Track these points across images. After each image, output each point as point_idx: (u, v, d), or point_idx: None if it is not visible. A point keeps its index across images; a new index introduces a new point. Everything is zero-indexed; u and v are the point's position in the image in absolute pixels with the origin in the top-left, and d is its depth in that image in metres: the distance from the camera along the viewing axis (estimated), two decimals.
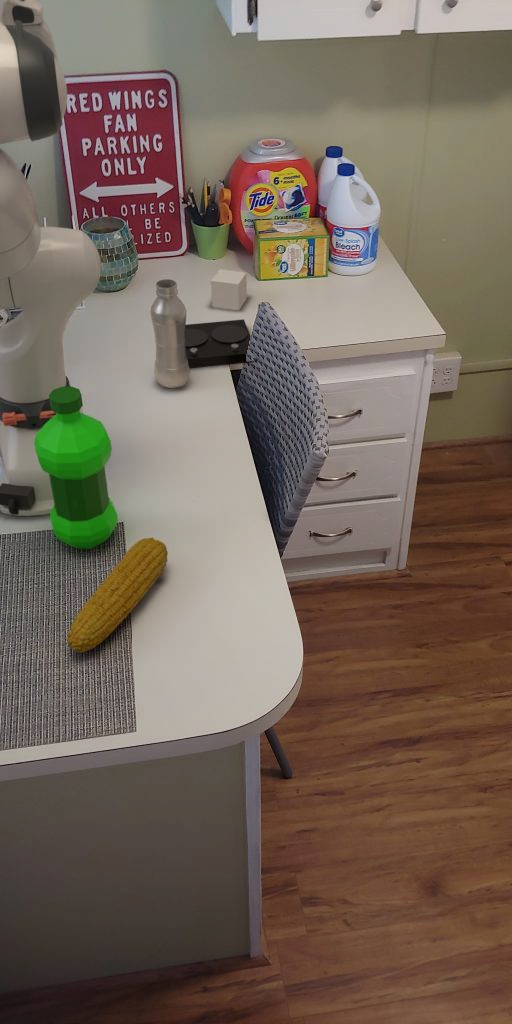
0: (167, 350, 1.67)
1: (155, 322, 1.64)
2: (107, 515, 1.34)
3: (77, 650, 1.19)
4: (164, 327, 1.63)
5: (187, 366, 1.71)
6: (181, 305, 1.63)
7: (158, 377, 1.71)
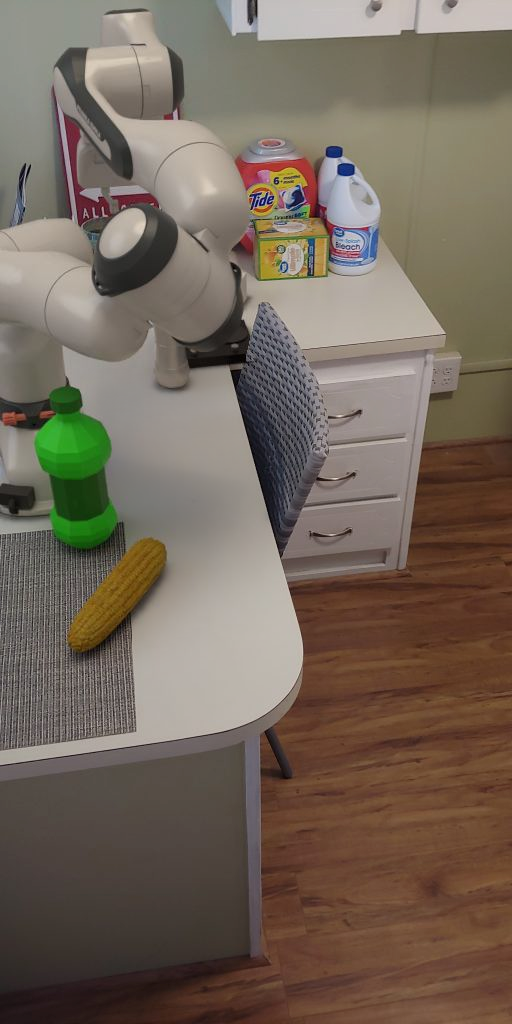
0: (167, 350, 1.67)
1: None
2: (107, 515, 1.34)
3: (77, 650, 1.19)
4: None
5: (187, 366, 1.71)
6: None
7: (158, 377, 1.71)
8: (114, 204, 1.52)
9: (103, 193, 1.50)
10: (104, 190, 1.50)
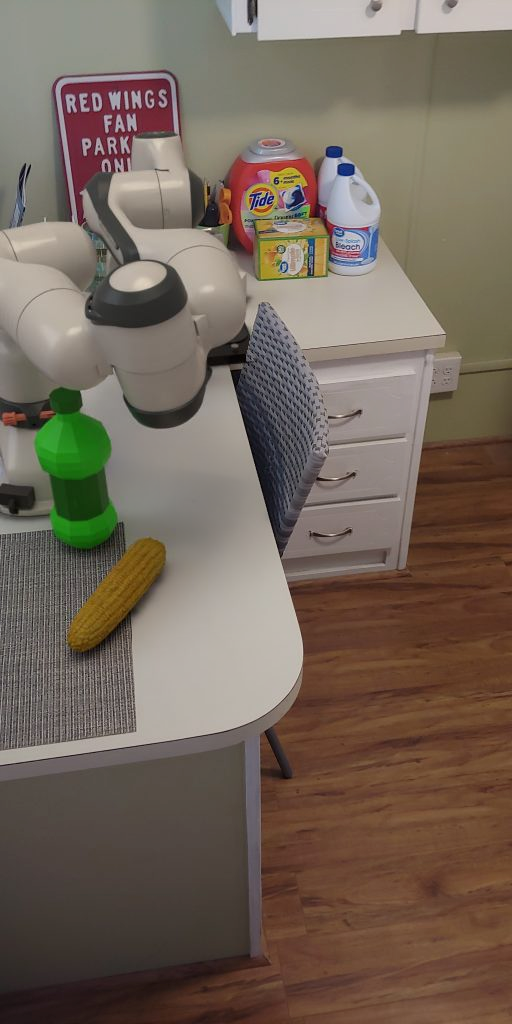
0: None
1: None
2: (107, 515, 1.34)
3: (76, 650, 1.19)
4: None
5: None
6: None
7: None
8: None
9: None
10: None
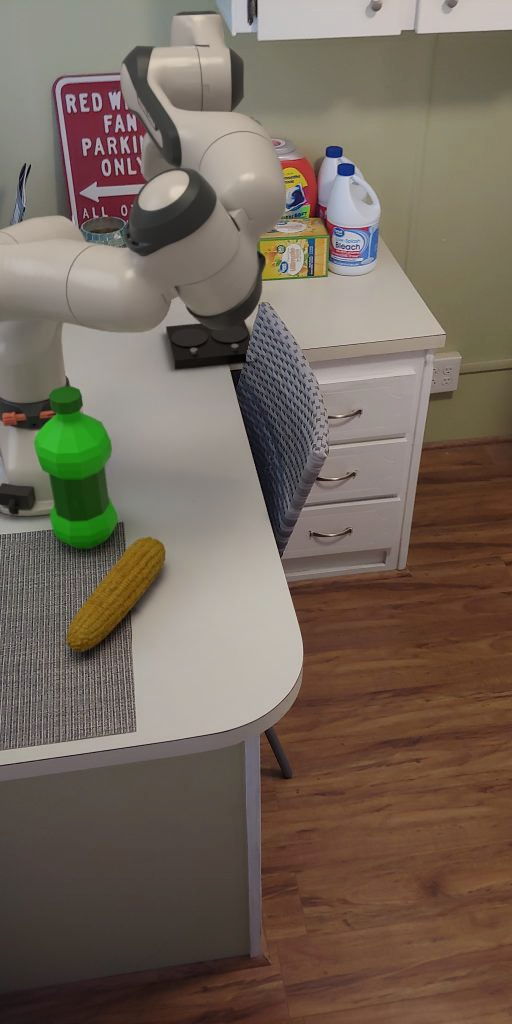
0: None
1: None
2: (107, 515, 1.34)
3: (76, 650, 1.19)
4: None
5: None
6: None
7: None
8: None
9: None
10: None
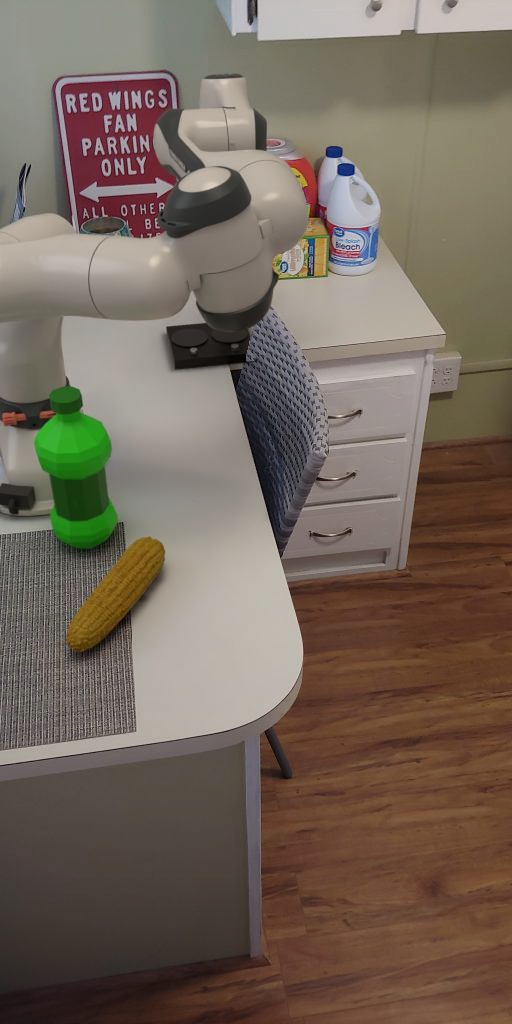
0: None
1: None
2: (107, 515, 1.34)
3: (76, 649, 1.19)
4: None
5: None
6: None
7: None
8: None
9: None
10: None
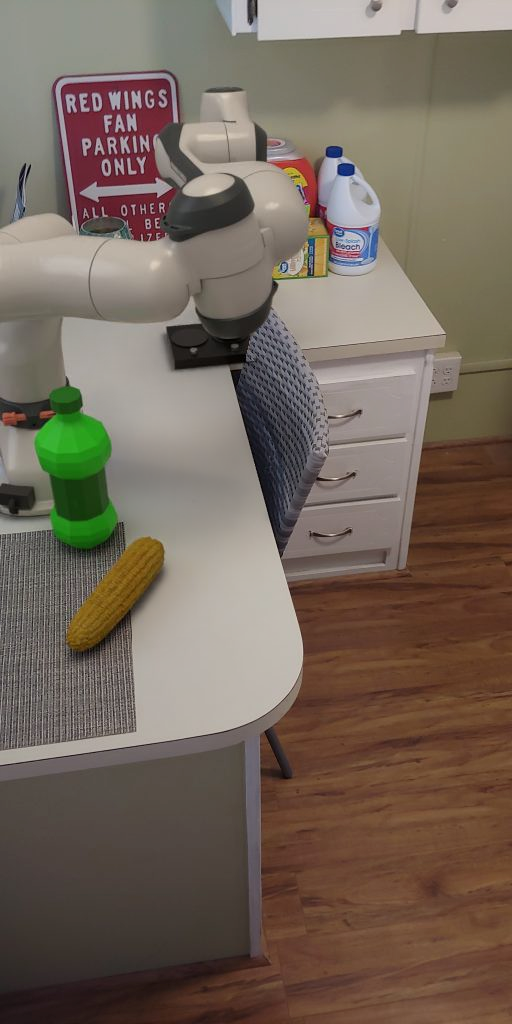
0: None
1: None
2: (107, 515, 1.34)
3: (75, 649, 1.19)
4: None
5: None
6: None
7: None
8: None
9: None
10: None
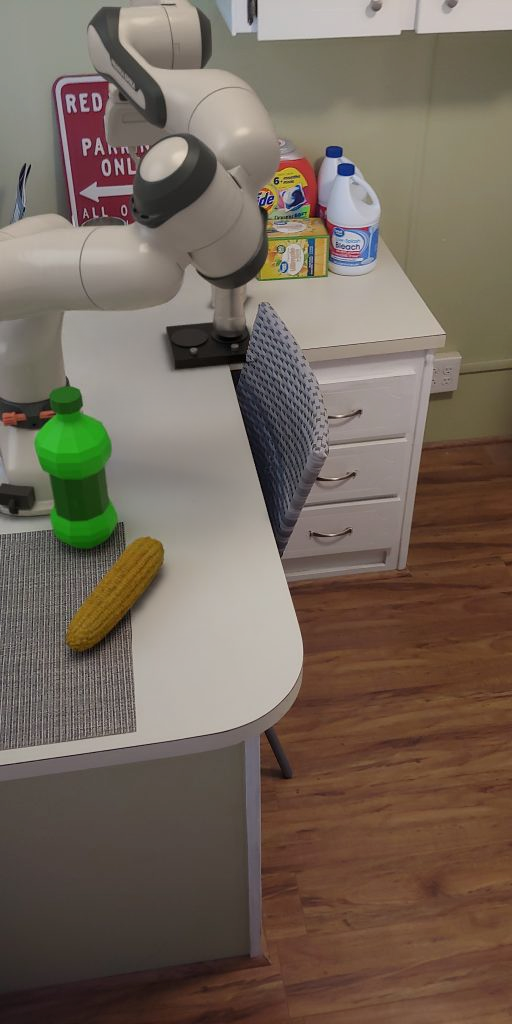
0: (226, 300, 1.77)
1: None
2: (107, 515, 1.34)
3: (75, 649, 1.19)
4: None
5: (244, 316, 1.81)
6: None
7: (217, 327, 1.81)
8: None
9: (130, 152, 1.56)
10: (131, 149, 1.56)
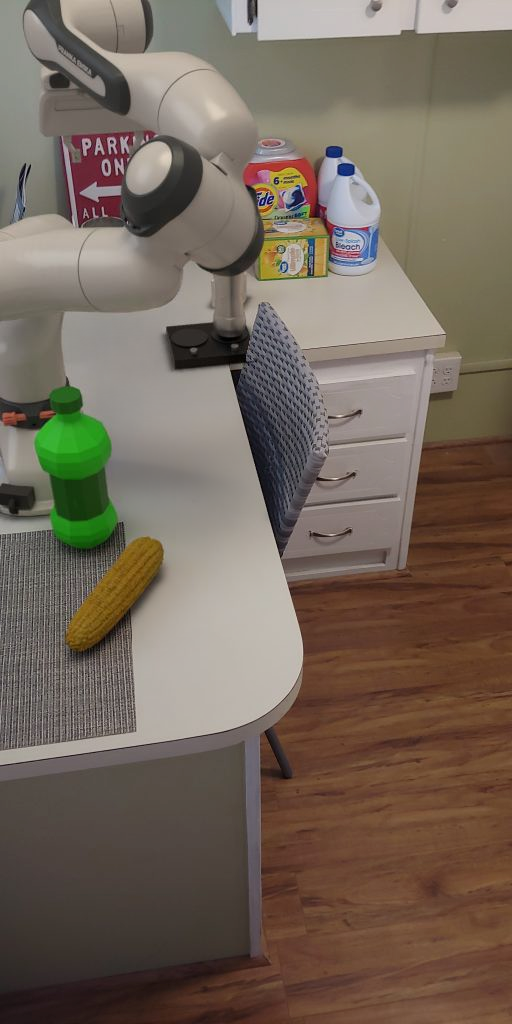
0: (226, 300, 1.77)
1: None
2: (107, 515, 1.34)
3: (75, 649, 1.19)
4: (225, 278, 1.74)
5: (244, 316, 1.81)
6: None
7: (217, 327, 1.81)
8: (76, 153, 1.52)
9: (65, 142, 1.50)
10: (65, 139, 1.50)
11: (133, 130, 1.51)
